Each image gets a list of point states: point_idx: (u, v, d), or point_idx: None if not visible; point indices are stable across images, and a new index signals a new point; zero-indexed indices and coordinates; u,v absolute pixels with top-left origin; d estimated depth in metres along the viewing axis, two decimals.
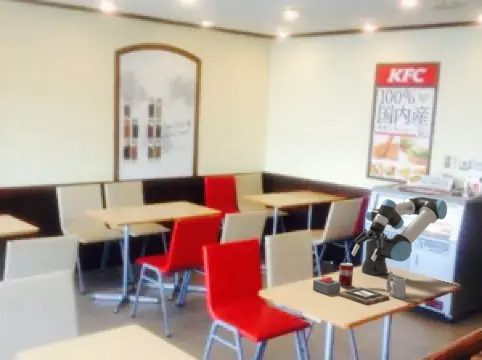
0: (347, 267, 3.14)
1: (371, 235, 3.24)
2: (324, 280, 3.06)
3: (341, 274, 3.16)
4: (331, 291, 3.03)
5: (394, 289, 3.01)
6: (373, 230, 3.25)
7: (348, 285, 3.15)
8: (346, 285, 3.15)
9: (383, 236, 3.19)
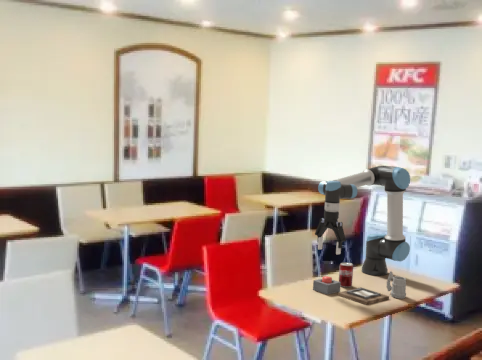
0: (347, 267, 3.14)
1: (328, 225, 3.04)
2: (324, 280, 3.06)
3: (341, 274, 3.16)
4: (331, 291, 3.03)
5: (394, 289, 3.01)
6: (328, 219, 3.04)
7: (348, 285, 3.15)
8: (346, 285, 3.15)
9: (339, 226, 2.99)
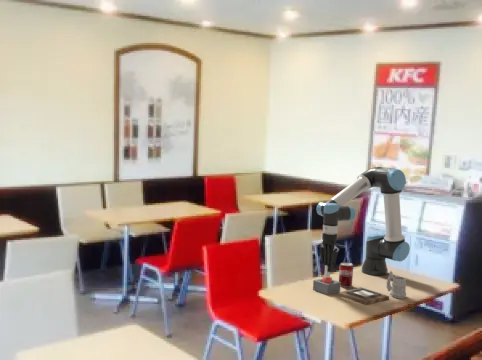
0: (347, 267, 3.14)
1: (326, 247, 3.05)
2: (324, 280, 3.06)
3: (341, 274, 3.16)
4: (331, 291, 3.03)
5: (394, 289, 3.01)
6: (326, 241, 3.05)
7: (348, 285, 3.15)
8: (346, 285, 3.15)
9: (335, 252, 3.01)
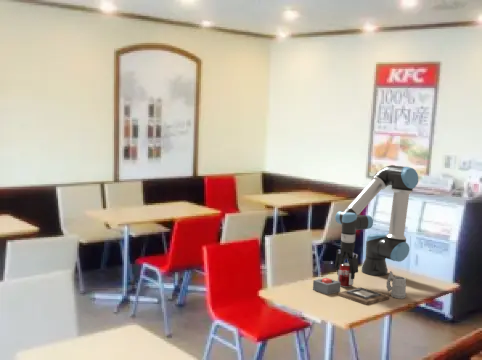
0: (347, 267, 3.14)
1: (345, 255, 3.17)
2: (324, 282, 3.06)
3: (341, 274, 3.16)
4: (331, 291, 3.03)
5: (394, 289, 3.01)
6: (344, 249, 3.17)
7: (348, 285, 3.15)
8: (346, 285, 3.15)
9: (355, 258, 3.12)
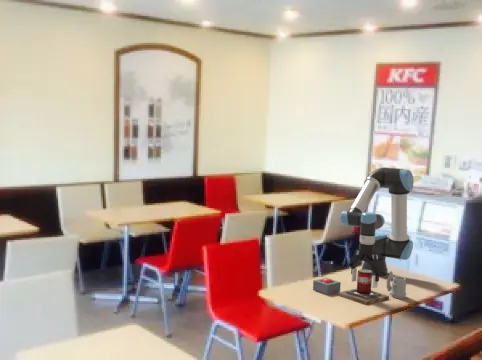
0: (366, 274, 2.95)
1: (363, 258, 2.97)
2: (324, 282, 3.06)
3: (359, 281, 2.96)
4: (331, 291, 3.03)
5: (394, 289, 3.01)
6: (363, 252, 2.97)
7: (367, 293, 2.96)
8: (365, 293, 2.95)
9: (376, 259, 2.91)
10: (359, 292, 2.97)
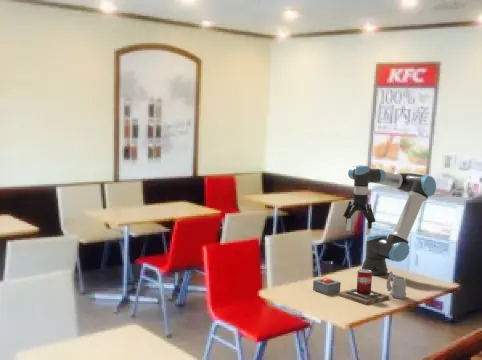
0: (366, 274, 2.94)
1: (357, 208, 3.19)
2: (324, 282, 3.06)
3: (359, 281, 2.96)
4: (331, 291, 3.03)
5: (394, 289, 3.01)
6: (357, 202, 3.19)
7: (367, 293, 2.96)
8: (365, 293, 2.95)
9: (368, 208, 3.14)
10: (359, 292, 2.97)
